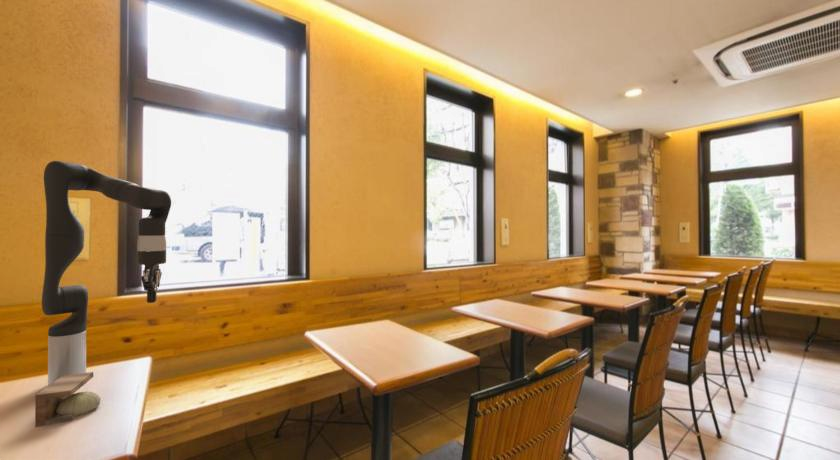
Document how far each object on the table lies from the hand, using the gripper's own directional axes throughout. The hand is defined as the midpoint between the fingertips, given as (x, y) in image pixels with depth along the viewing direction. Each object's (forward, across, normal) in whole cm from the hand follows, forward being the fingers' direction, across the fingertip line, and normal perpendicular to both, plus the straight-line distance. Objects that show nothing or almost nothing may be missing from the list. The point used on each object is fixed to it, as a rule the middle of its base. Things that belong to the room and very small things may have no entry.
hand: (151, 302), depth 115 cm
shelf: (+29, +7, -18) cm, 35 cm away
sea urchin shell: (+29, +7, -15) cm, 34 cm away
